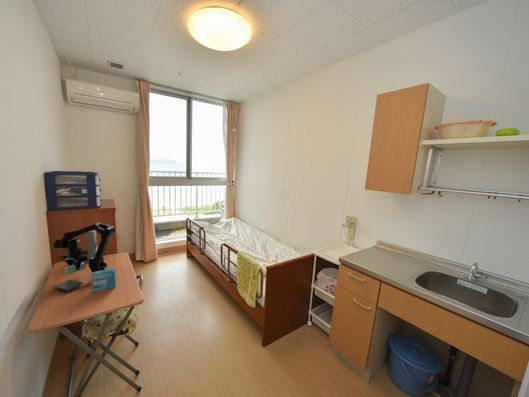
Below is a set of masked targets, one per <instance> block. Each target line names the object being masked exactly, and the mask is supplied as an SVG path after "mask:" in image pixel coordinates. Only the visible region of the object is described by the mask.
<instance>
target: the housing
mask: <svg viewBox="0 0 529 397" xmlns="http://www.w3.org/2000/svg"><path fill="white" fill-rule="evenodd" d="M86 268H87V267H86V263H85V262H84V261H83V262H82V263H81V265H80V269H79V270H77V269H76V267H75V266H74V265H71V266H69V265H67V266H65V267H64V273H65V274H67V275H73V274H74V273H77V272H80V271H82V270H86Z"/></svg>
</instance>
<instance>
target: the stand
mask: <svg viewBox="0 0 529 397" xmlns="http://www.w3.org/2000/svg"><path fill="white" fill-rule="evenodd" d="M83 284H84V282H82V281H77V280H74V279H67V280H65V281H63V282H61V283H57V284H56V285H55V284H54V286H53V288H55V289H57V290H59V291H61V292H62V291H63V292H66V293H70V292H72V291H74V290H77V289H78V288H81V285H83Z"/></svg>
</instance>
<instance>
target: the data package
mask: <svg viewBox="0 0 529 397" xmlns="http://www.w3.org/2000/svg"><path fill="white" fill-rule="evenodd" d="M90 279H91V288H92V292H94V293H97V292H103V291H106V290H110V289H111V290H112V289H115V287H116V284H117V278H116V270H115V269H114V268H108V269H105V270H101V271H96V272H92V274H91V278H90Z"/></svg>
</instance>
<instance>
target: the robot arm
mask: <svg viewBox="0 0 529 397" xmlns="http://www.w3.org/2000/svg"><path fill="white" fill-rule="evenodd" d="M92 230H96V233H97V234H100V238H101V239H100V241H99V244H98V246H97V247H98V249H97V252H96V254H95V256H94V257H92V258H90V260H88V259H89V258H88V250H87V249H83V248H82V247H79V242H82V240H81V239H80V238H78V237H80V236H82V235H83V234H86V233H87V232H89V231H92ZM116 230H117V229H116V228H115V227H114V226H112V225H109V224H103V223H101V222H96V223H94V224H91V225H88V226H85V227H83V228H78V229H73V230H70V231H67V232H64V234H63V237H61V238H57V239H55V242H54V243H53V245H52V246H53V248H54V249H55V250H61V249H63V250H64V249H65V252H66V254H61V256H60V260H62V261H64V262H65V263H66V265H67V266H71V265H74V266H75V267H76V269H77V270H79V269H80V265H81V263H82V262H83V263H84V262H85V261H88V263H87V264H88V265H87V266H88V267H89V270H90V272H91V273H93V272H96V271H101V270H106V268H107V266H108V263H106V262H105V259H104V255H105V252H106V249H107V247H108V244H109V242H110V239H112V238H113V236H114V234H116Z"/></svg>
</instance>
